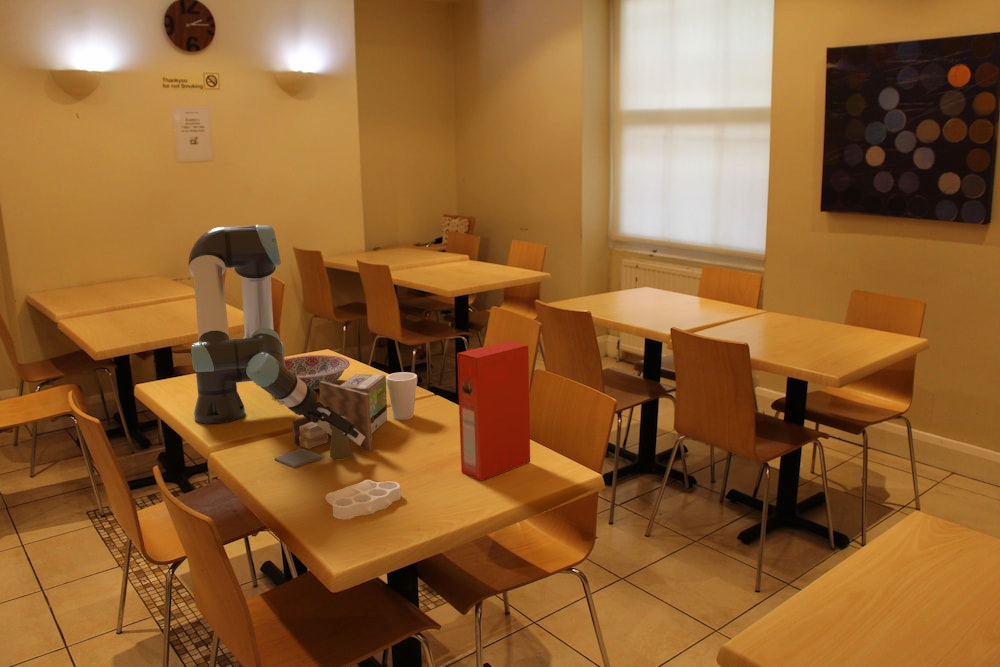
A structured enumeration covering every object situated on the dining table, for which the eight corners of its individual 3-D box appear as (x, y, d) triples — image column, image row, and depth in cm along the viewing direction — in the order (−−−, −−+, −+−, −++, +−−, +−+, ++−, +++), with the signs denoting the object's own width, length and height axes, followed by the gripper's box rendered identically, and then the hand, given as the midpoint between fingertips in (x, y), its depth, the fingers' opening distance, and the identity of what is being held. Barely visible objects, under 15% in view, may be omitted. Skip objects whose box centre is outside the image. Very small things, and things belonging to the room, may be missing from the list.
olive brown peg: (333, 461, 222) (330, 422, 219) (327, 453, 227) (324, 415, 224) (355, 456, 224) (352, 418, 222) (348, 449, 229) (346, 412, 227)
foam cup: (382, 419, 254) (380, 379, 251) (397, 410, 263) (395, 371, 260) (409, 422, 251) (408, 381, 248) (423, 413, 259) (422, 373, 256)
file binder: (460, 472, 212) (457, 352, 205) (509, 455, 224) (507, 340, 216) (481, 481, 206) (478, 358, 199) (530, 463, 218) (529, 345, 211)
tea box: (371, 436, 240) (368, 388, 236) (339, 434, 242) (335, 386, 238) (388, 419, 254) (386, 373, 251) (357, 418, 256) (354, 372, 253)
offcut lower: (299, 446, 234) (298, 436, 233) (320, 439, 239) (319, 429, 238) (307, 449, 231) (306, 439, 230) (328, 442, 236) (327, 432, 235)
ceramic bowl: (367, 380, 297) (366, 359, 295) (318, 403, 271) (316, 380, 269) (301, 372, 308) (299, 352, 307) (248, 394, 283) (246, 372, 281)
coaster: (274, 459, 223) (274, 457, 223) (302, 450, 230) (302, 448, 229) (294, 467, 217) (294, 465, 217) (322, 457, 224) (321, 455, 224)
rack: (293, 443, 235) (288, 390, 231) (326, 432, 243) (322, 380, 240) (339, 461, 221) (335, 404, 218) (372, 448, 230) (369, 394, 226)
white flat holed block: (376, 485, 207) (413, 502, 196) (314, 507, 194) (350, 527, 184) (375, 472, 206) (412, 489, 196) (313, 494, 193) (349, 513, 183)
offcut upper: (300, 436, 233) (299, 426, 232) (315, 430, 238) (314, 420, 237) (310, 439, 231) (309, 428, 230) (325, 432, 236) (324, 422, 235)
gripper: (262, 399, 218) (314, 438, 233) (317, 417, 203) (368, 458, 217) (277, 375, 221) (328, 415, 235) (333, 391, 205) (383, 433, 220)
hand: (347, 436), depth 226 cm, fingers open, 11 cm apart
